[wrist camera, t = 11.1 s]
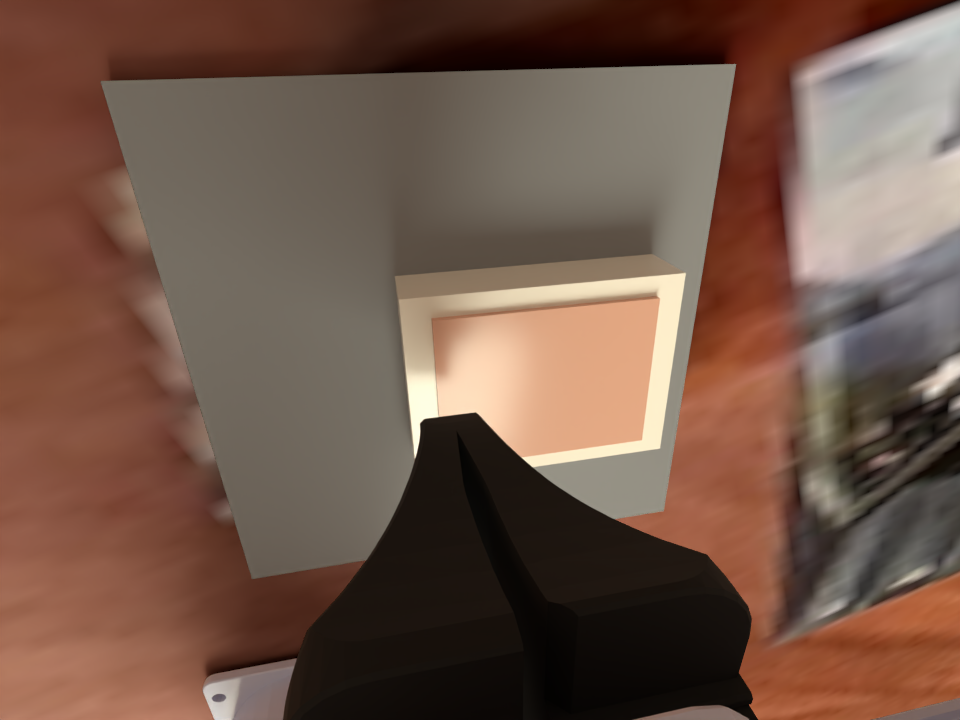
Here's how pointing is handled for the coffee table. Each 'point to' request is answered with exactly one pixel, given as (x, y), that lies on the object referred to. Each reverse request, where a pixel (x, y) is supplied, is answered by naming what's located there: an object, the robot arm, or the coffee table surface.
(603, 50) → the coffee table surface
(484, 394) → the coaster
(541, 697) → the robot arm
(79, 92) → the coffee table surface
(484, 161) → the mat
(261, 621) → the coffee table surface
